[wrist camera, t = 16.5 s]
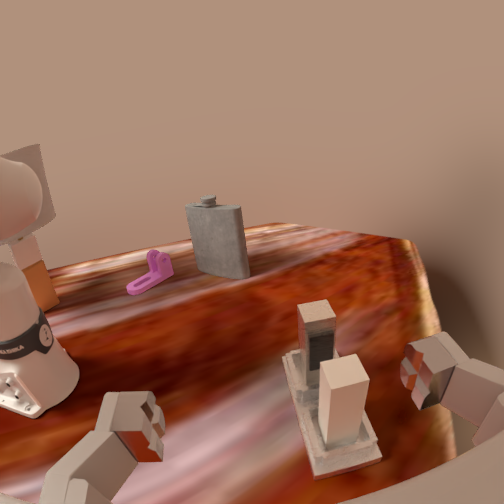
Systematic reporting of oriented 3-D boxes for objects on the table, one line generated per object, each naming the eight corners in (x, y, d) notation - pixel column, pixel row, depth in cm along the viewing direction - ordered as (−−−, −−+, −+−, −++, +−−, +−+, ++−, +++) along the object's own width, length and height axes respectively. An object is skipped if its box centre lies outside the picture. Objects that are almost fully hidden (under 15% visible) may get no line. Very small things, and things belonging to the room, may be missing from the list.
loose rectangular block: (325, 449, 33) (331, 389, 28) (316, 421, 37) (318, 358, 32) (356, 440, 33) (369, 379, 28) (345, 414, 37) (354, 350, 32)
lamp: (65, 278, 89) (28, 150, 72) (95, 298, 76) (50, 138, 59) (7, 311, 73) (-40, 176, 56) (24, 341, 60) (-39, 171, 42)
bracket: (162, 270, 87) (156, 247, 84) (174, 274, 84) (168, 250, 81) (124, 291, 78) (116, 267, 75) (135, 297, 75) (127, 272, 72)
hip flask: (252, 274, 79) (242, 194, 71) (243, 282, 76) (231, 199, 68) (202, 264, 87) (189, 193, 79) (193, 271, 84) (178, 197, 76)
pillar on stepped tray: (314, 480, 30) (318, 422, 24) (282, 362, 50) (275, 293, 44) (380, 461, 31) (404, 397, 25) (331, 352, 51) (333, 283, 45)
